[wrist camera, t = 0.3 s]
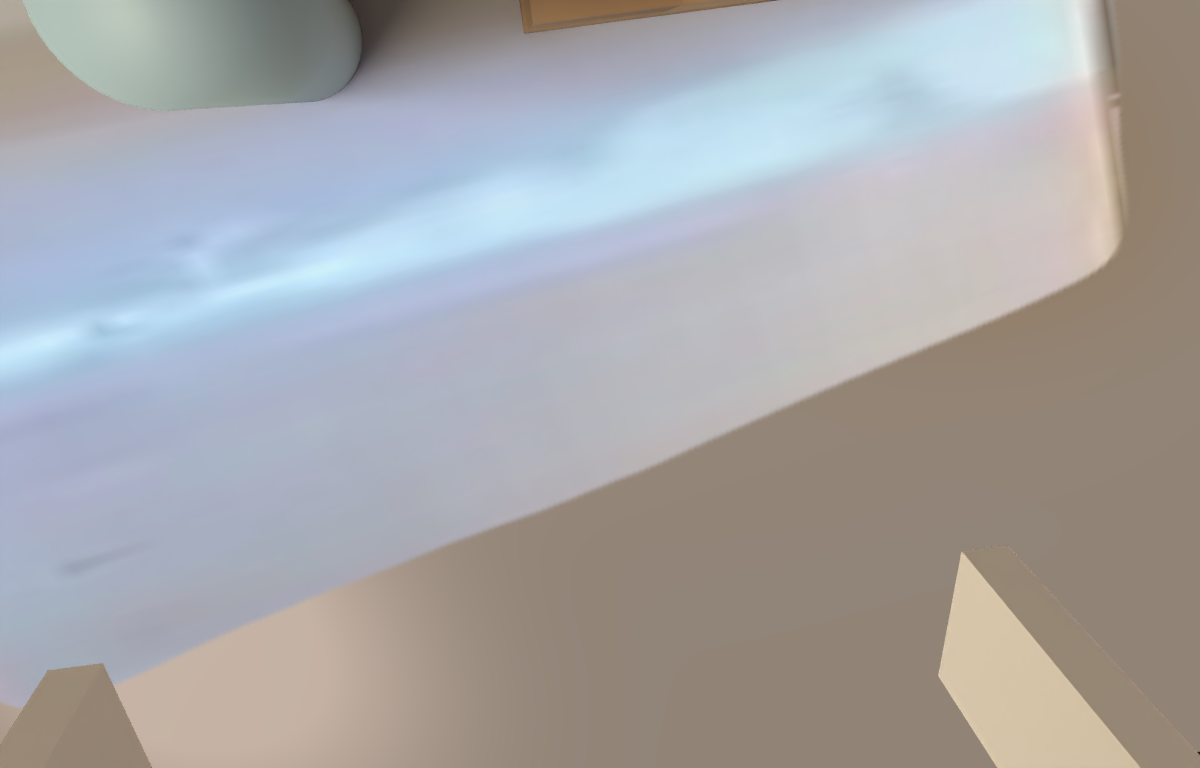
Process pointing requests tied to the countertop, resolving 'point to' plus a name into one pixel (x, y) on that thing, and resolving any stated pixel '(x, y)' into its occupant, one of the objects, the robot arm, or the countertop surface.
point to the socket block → (607, 11)
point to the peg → (204, 49)
